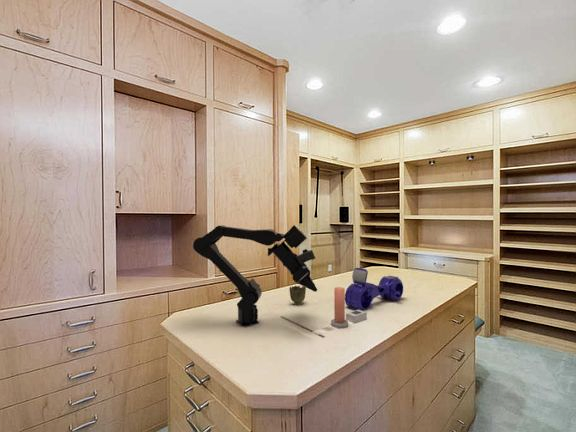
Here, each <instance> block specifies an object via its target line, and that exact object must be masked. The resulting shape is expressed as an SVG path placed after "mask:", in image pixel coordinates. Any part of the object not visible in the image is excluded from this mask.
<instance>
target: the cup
mask: <svg viewBox="0 0 576 432" xmlns="http://www.w3.org/2000/svg"><path fill="white" fill-rule="evenodd" d="M288 289H289V296H290V300H291V301H292V302H293V305H296V306H300V305H302V303H303V302H304V301H305V298H306V293H307V292H306V291H307V288H306V287H304V286H302V285H301V287H300V285H294V286H293V285H292V286H289V287H288Z"/></svg>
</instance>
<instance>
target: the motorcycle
mask: <svg viewBox="0 0 576 432" xmlns="http://www.w3.org/2000/svg"><path fill="white" fill-rule="evenodd" d="M368 272H369V271H368V270H367V269H366V268H363V267H355V268H354V269H353V271H352V277H351V279H352V283H351V284H350V285H349V286H348V287H347V288H346V289H345V290H346V291H345V306H346V307H348V308H350V309H353V310H361V311H366V310H368V309H369V308H370V307H371V304H372V303H373V301H374V299H375V298H377V297H378V296H380V298H382V299H386V300H390V301H393V302H397V300H398V301H400V300H401V298H402V296H403V293H404V284H403V281H402V280H401V279H400V278H399V277H398V276H394V275H387V276H386V275H385V276H382V278H381V279H379V283H378V284H377V285H376V284H374V283H372V282H367V279H368V274H369V273H368Z"/></svg>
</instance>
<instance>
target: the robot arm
mask: <svg viewBox="0 0 576 432" xmlns="http://www.w3.org/2000/svg"><path fill="white" fill-rule="evenodd" d="M223 237H227V238H232V239H233V238H234V239H242V240H247V241H248V240H249V241H252V242H255V243H257V244H261V245H263V246H268V248H267V256H268V257H270V256H271V255H272V254H273V255H274V256H275V257H276V259H278V261H280V262H281V264H282V265H283V267H285V268H286V269H287V271H289V273H290V275H291V276H292V280H293V282H294V283H295V284H298V285H299V286H300V285H301V287H302V286H304V287H306V289H308V290H310V291H312V292H314V293H316V292H317V291H318V288H317V287H316V284H315V283H314V281H313V279H312V278H311V270H310V269H309V267H308V266H307V264H306V262H309V261H311V260H312V261H313V260H315V259H316V256H315V253H314V251H313V249H310V250H308V249H307V248H305V249H302V253H300V254H297V253H296V252H294V251H293V250H292V249H293V248H294V249H297V248H298V247H299V246H300V245H301V244H303V242H305V241H306V240H307V239H308V238H307V236H306V234H305V233H304V232H303V231H302V230H300V229H299V227H297V226H296V224H295V225H293V226H291V227H290V229H289V230H288V231H287V232H286V233H284V234H283V233H278V232H277V231H276V230H274V229H273V228H272V229H271V228H269V229H265V228H264V229H249V228H242V227H240V228H239V227H235V226H234V227H232V226H227V225H226V226H225V225H217V226H216V227H214V228H213V229H212V230H211V231H209V232H208V233H206V234H205V235H203V236H201V237H198V238H196V239H195V240H194V241H193V244H192V245H193V246H192V248H193V251H195V252H196V253H197V254H199V255H200V256H202V257H203V258H206V259H208V260H209V261H210V262H212V264H213V265H214V266H215V267H216V268H217V269H218V270H219V271H220V272H221V273H222V274H223V275H224V276H225V277H226V278H227V279H228V280H229V281H230V282H231V283H232V284H233V286H235V288H236V289H237V291H238V294H239V296H240V297H241V299H240V300H239V301H238V302H237V303H236V306H237V320H236V321H235V322H236V323H237V324H239V325H241V326H242V327H243V328H245V327H249V326H253V325H257V324H260V321H259V316H258V315H259V314H258V313H259V311H258V305H256V303H257V302H258V301H259V300H260V299H261V297H262V293H263V292H262V288H261V285H260V284H258V282H256V280H255V279H254V278H251V279H247V278H245V276H243V274H242V273H241V272H240V271H239V270H238V269H237V268H236V267H235V266H234V265H233V264H232V263H231V262H230V261H229V260H228V259H227V258H226V257H225V256H224V255H223V254H222V253H221V252H220V250H219V247H218V246H217V244H216V243H217V242H219V241H220V240H221V238H223ZM282 240H283V241H282ZM278 242H280V244H279V243H278ZM272 245H273V246H272ZM269 246H272V247H269Z"/></svg>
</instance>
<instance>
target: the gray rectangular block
mask: <svg viewBox="0 0 576 432" xmlns="http://www.w3.org/2000/svg"><path fill="white" fill-rule="evenodd" d="M367 313H368V312H367V311H365V310H362V311H361V310H356V309H354V310H352V311H349V312H345V320H347V321H350V322H353V323H352V324H356V323H359V322H362V321H366V320H367V319H368V314H367Z"/></svg>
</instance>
